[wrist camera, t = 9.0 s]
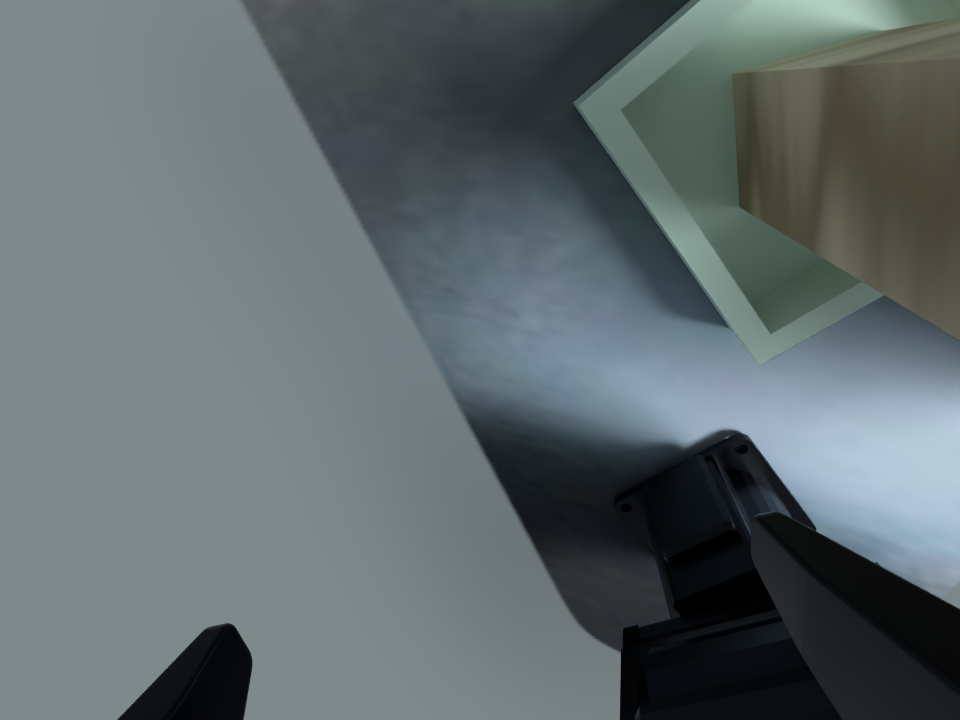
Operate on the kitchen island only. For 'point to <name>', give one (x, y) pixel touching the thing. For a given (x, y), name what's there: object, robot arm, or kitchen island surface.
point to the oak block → (863, 160)
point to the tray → (731, 153)
